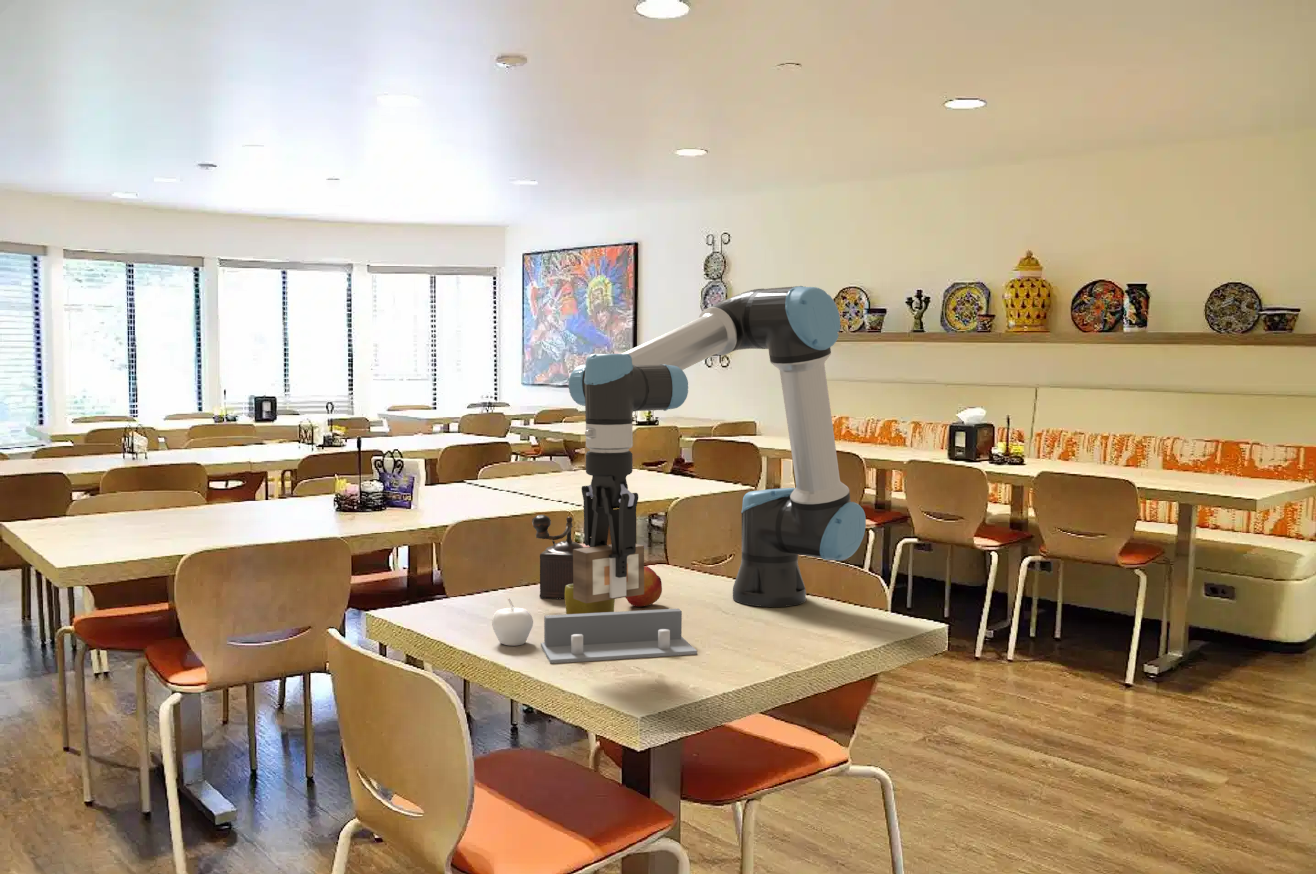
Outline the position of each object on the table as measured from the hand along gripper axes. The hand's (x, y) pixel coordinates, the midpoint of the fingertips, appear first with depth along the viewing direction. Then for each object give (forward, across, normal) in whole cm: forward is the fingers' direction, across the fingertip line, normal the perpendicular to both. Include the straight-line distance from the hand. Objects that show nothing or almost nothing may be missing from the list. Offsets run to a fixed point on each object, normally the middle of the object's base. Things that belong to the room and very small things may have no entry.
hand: (609, 593), depth 177 cm
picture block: (0, 0, 0) cm, 0 cm away
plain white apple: (+12, -21, -7) cm, 25 cm away
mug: (+12, -25, +12) cm, 30 cm away
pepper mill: (+12, -49, +20) cm, 54 cm away
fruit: (+13, -33, +28) cm, 45 cm away
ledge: (+12, -7, +6) cm, 15 cm away
